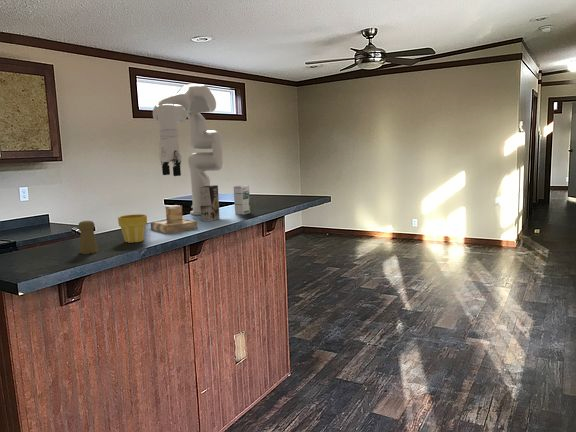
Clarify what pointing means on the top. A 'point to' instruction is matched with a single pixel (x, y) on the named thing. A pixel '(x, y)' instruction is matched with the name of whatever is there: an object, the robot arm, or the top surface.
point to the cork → (87, 237)
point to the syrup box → (242, 199)
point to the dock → (174, 226)
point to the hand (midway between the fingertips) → (171, 175)
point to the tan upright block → (174, 214)
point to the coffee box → (209, 203)
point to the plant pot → (133, 227)
